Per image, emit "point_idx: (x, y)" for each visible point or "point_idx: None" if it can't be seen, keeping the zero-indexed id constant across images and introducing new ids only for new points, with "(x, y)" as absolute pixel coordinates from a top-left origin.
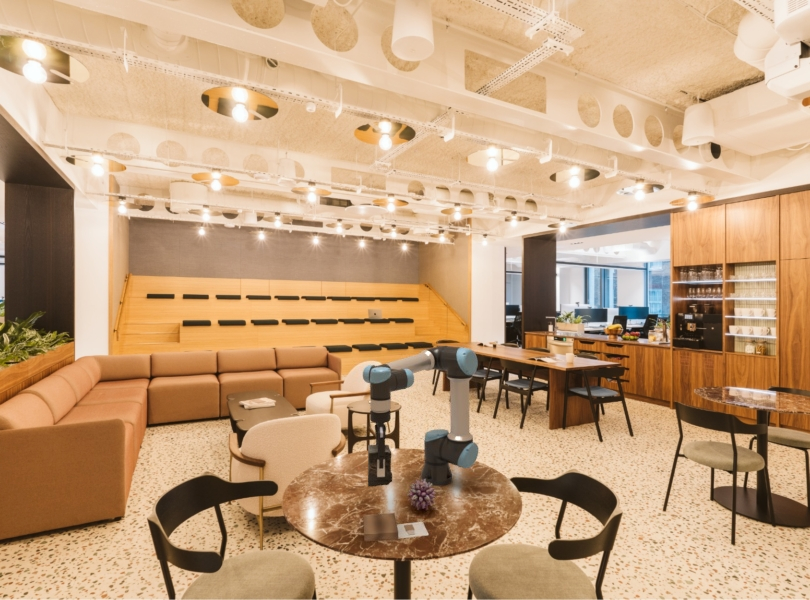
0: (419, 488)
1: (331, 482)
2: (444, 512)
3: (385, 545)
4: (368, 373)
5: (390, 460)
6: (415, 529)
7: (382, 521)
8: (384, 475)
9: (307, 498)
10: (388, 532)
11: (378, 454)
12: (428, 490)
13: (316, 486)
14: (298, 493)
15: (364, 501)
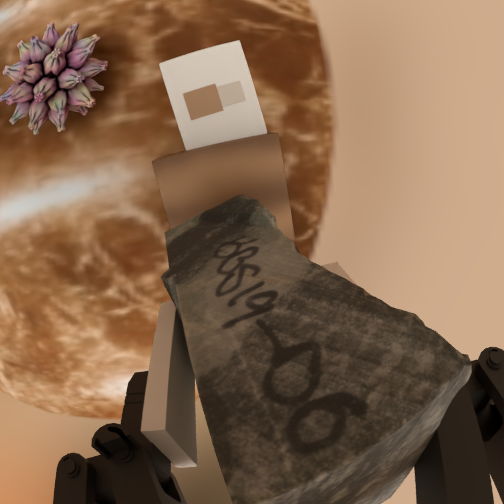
0: (51, 78)
1: (30, 364)
2: (98, 12)
3: (298, 169)
4: None
5: (360, 288)
6: (210, 81)
7: (214, 195)
8: (339, 268)
9: (111, 395)
10: (282, 165)
11: (498, 422)
12: (64, 39)
13: (60, 388)
14: (101, 410)
15: (70, 276)
